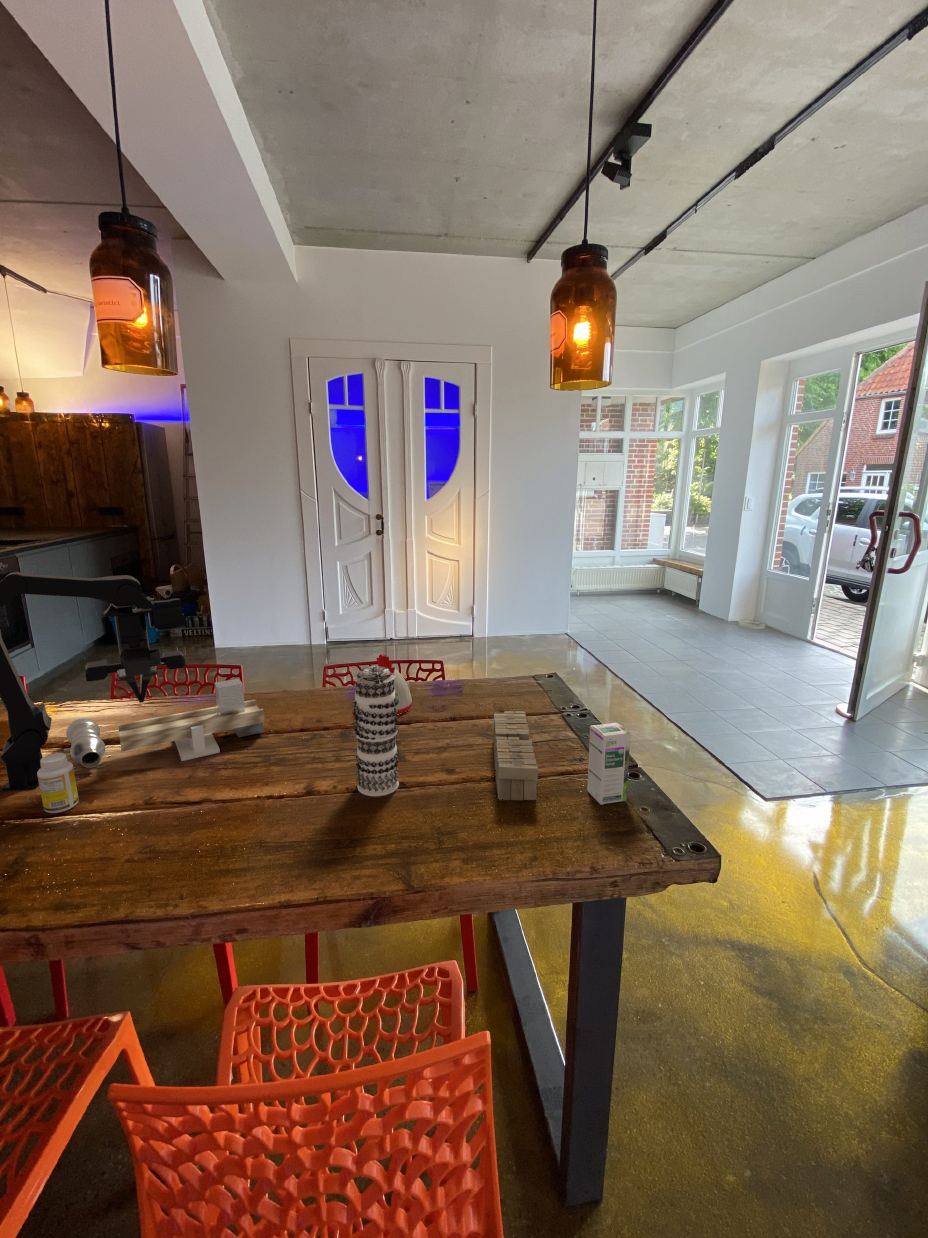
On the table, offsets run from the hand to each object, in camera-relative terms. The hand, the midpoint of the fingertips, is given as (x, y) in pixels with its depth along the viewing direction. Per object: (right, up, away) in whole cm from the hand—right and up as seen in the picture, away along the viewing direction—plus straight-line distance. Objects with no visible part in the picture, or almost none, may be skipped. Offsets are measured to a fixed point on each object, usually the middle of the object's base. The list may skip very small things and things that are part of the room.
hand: (141, 702), depth 126 cm
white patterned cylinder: (+54, -16, -10) cm, 57 cm away
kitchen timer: (+50, -6, +32) cm, 60 cm away
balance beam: (+8, -10, +8) cm, 16 cm away
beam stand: (+8, -11, +8) cm, 16 cm away
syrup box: (+100, -17, -13) cm, 103 cm away
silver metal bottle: (-20, -8, +10) cm, 24 cm away
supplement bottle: (-5, -18, -18) cm, 25 cm away
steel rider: (+15, -5, +11) cm, 20 cm away
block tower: (+83, -15, -2) cm, 84 cm away
